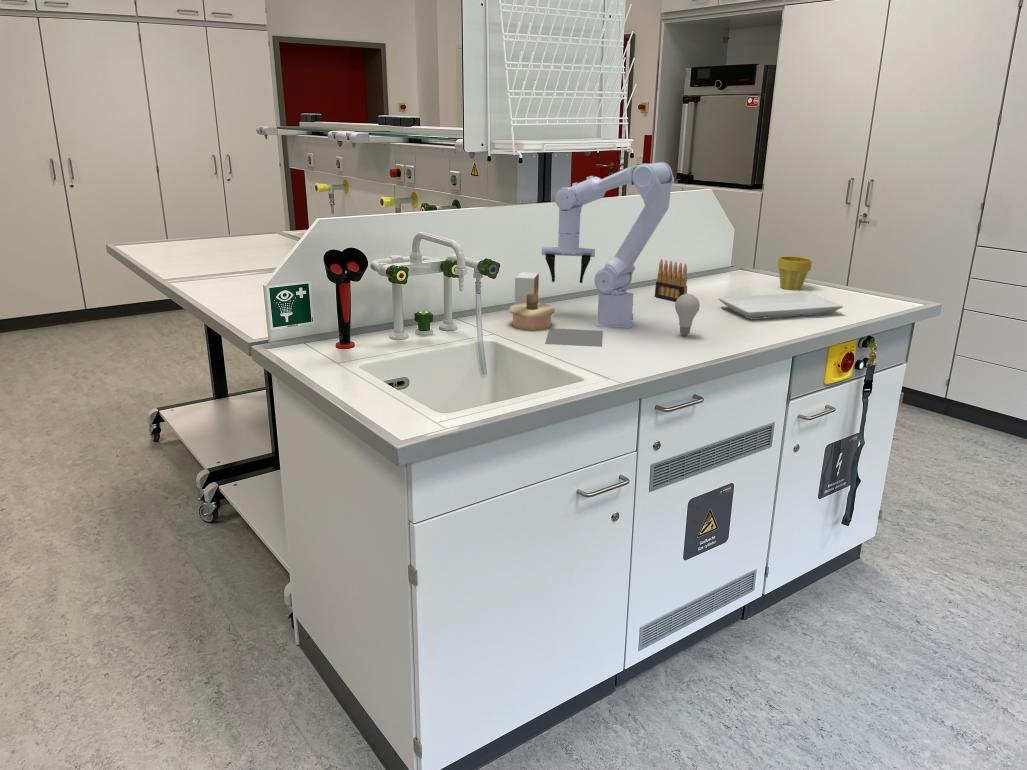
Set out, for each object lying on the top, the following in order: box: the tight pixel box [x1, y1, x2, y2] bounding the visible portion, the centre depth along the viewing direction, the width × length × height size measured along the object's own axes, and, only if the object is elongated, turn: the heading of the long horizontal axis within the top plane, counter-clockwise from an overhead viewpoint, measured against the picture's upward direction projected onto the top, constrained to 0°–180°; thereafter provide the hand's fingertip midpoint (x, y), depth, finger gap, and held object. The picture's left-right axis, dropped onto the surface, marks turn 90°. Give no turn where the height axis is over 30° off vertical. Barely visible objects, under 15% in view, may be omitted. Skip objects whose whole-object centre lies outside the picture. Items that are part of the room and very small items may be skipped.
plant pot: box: [777, 255, 813, 291], centre depth 249 cm, size 10×10×10 cm
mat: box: [544, 327, 604, 348], centre depth 193 cm, size 14×14×1 cm
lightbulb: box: [674, 293, 701, 337], centre depth 194 cm, size 6×6×11 cm
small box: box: [514, 271, 540, 304], centre depth 216 cm, size 8×6×10 cm
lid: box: [509, 294, 556, 317], centre depth 201 cm, size 12×12×4 cm
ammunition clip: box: [654, 258, 688, 303], centre depth 231 cm, size 11×2×12 cm, turn 43°
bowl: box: [512, 314, 552, 331], centre depth 203 cm, size 10×10×4 cm
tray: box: [718, 292, 844, 319], centre depth 221 cm, size 17×32×4 cm, turn 106°
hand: (567, 281), depth 211 cm, fingers open, 7 cm apart
